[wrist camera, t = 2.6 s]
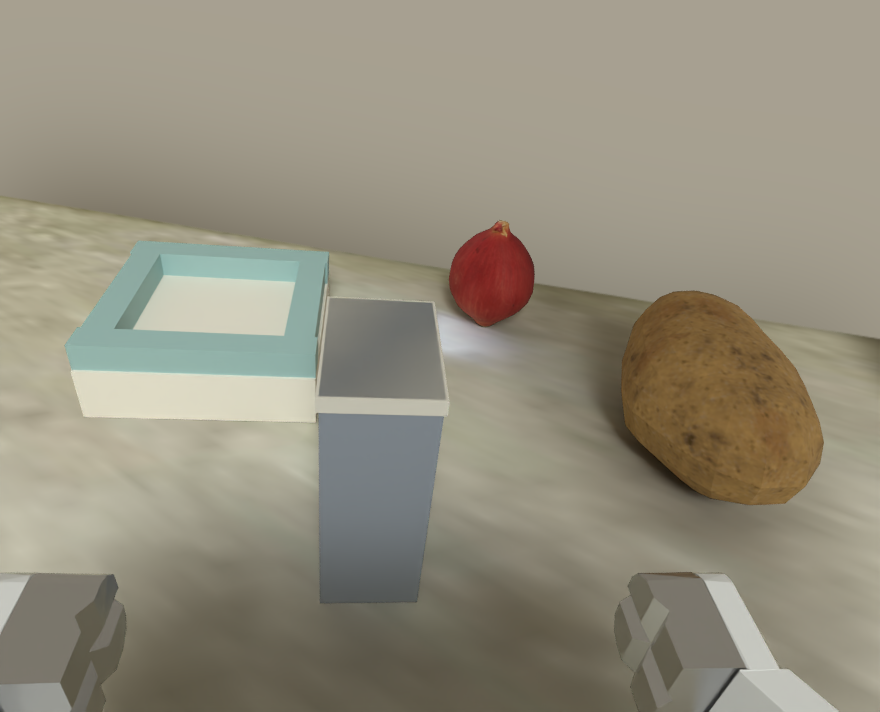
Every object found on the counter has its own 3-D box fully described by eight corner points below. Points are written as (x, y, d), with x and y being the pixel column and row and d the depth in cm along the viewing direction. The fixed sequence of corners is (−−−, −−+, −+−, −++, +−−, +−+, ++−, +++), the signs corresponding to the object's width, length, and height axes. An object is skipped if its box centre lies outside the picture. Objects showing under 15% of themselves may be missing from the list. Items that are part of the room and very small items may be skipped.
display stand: (328, 308, 44) (329, 251, 41) (315, 422, 34) (315, 356, 32) (150, 300, 42) (139, 239, 40) (84, 417, 33) (63, 347, 30)
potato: (632, 551, 30) (689, 425, 25) (582, 373, 41) (615, 264, 36) (831, 568, 30) (922, 447, 25) (726, 387, 41) (777, 282, 37)
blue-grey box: (412, 491, 31) (434, 301, 25) (419, 603, 26) (449, 402, 20) (326, 490, 31) (327, 296, 24) (317, 605, 26) (314, 398, 19)
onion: (435, 303, 46) (447, 200, 42) (508, 301, 48) (528, 202, 43) (454, 348, 42) (470, 238, 37) (534, 345, 43) (560, 239, 39)
